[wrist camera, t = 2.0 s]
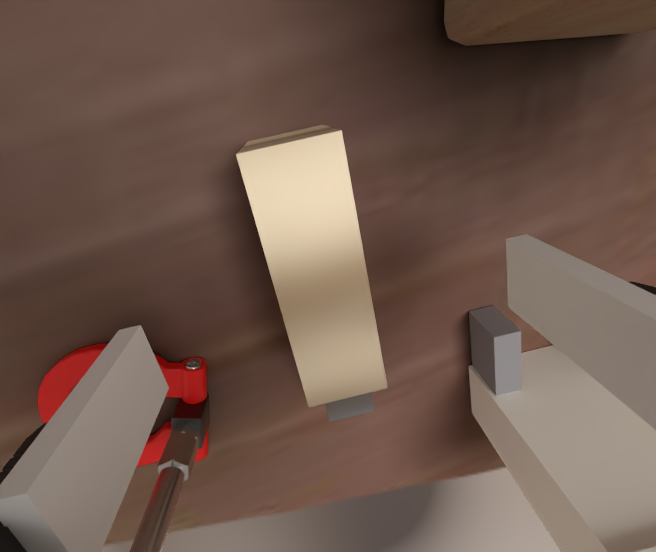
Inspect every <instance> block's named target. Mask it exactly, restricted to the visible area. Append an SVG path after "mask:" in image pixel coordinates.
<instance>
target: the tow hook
mask: <svg viewBox="0 0 656 552" xmlns="http://www.w3.org/2000/svg"><path fill="white" fill-rule="evenodd" d="M107 345H108V343H100V344H95V345H91V346H86V347H82V348H79V349H77V350H75V351H73V352H71V353H70V354H68V355H66V356H64V357H63V358H62V359H61V360H60V361H59V362H58V363H57V364H56V365H55V366H54V367H53V368H52V369H51V370H50V371H49V372H48V373H47V374H46V375H45V377H44V379H43V381H42V384H41V386H40V388H39V392H38V408H39V412H40V415H41V419H42V422H43V423H46V422H49V420H50V419H51V418H52V417H53V415H54V414H55V413H56V411H57V410H58V409H59V407H60V406H61V405H62V403H63V402H64V401H65V400H66V398H67V397H68V396H69V394H70V393H71V392H72V390H73V389H74V388H75V386H76V384H77V383H78V382H79V381H80V380H81V379H82V377H83V376H84V375H85V373H86V372H87V371H88V370H89V368H90V367H91V366H92V364H93V363H94V362H95V360H96V359H97V358H98V357H99V355H100V354H101V353H102V351H103V350H104V349H105V347H106V346H107ZM154 355H155V358H156V360H157V362H158V364H159V367H160V369H161V371H162V373H163V375H164V378H165V380H166V382H167V384H168V387H169V389H168V392H167V394H166V397H175V398H180V399H179V402H178V404H177V407H176V409H175V411H174V414H173V416H172V419H171V421H168V422H166V423H165V424H164V426H163V427H162V428H161V429H160V430H158V431H157V432H156V433H155V434H153V435H151V436H149V438H148V440H147V442H146V445H145V447H144V450H143V452H142V454H141V457H140V459H139V462H138V464H137V466H136V467H138V466H142V465H147V464H151V463H155V462H157V461H159V460H160V461H159V463H158V479H157V482H156V484H155V487H154V490H153V492H152V495H151V497H150V500H149V503H148V505H147V508H146V510H145V513H144V516H143V518H142V521H141V523H140V526H139V529H138V531H137V534H136V536H135V539H134V541H133V544H132V547H131V549H130V552H162V548H163V545H164V542H165V539H166V536H167V532H168V529H169V526H170V523H171V520H172V516H173V513H174V510H175V507H176V504H177V500H178V497H179V494H180V491H181V488H182V484H183V481H186V480H187V479H188V478H189V476H190V473H191V470H192V467H193V463H194V462H195V461H200V460H202V459H204V458H205V457H206V456H207V454H208V425H209V395H208V393H207V369H206V361H205V360H204V359H202V358H199V357H192V358H188V359H185V360H184V361H182V363H171V362H167V361H166V360H164V359H163V358H162V357H160V356H158V355H156V354H154Z"/></svg>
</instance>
